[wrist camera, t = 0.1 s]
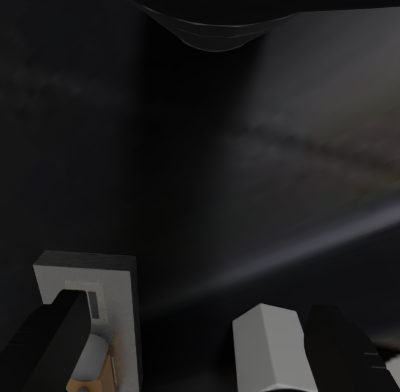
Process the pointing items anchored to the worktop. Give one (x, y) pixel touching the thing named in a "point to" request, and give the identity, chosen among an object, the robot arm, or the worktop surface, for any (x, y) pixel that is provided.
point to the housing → (102, 304)
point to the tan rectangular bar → (93, 368)
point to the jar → (271, 351)
